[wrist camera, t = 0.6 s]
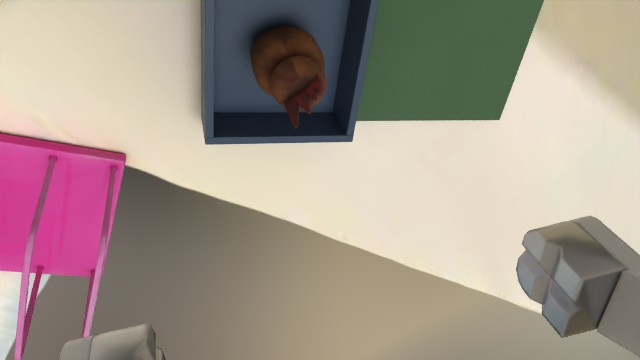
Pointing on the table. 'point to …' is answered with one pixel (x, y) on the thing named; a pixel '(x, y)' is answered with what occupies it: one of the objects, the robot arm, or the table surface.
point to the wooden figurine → (290, 69)
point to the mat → (444, 58)
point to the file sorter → (55, 216)
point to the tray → (240, 83)
